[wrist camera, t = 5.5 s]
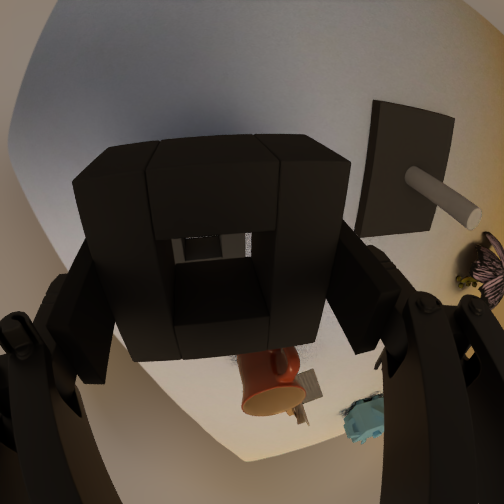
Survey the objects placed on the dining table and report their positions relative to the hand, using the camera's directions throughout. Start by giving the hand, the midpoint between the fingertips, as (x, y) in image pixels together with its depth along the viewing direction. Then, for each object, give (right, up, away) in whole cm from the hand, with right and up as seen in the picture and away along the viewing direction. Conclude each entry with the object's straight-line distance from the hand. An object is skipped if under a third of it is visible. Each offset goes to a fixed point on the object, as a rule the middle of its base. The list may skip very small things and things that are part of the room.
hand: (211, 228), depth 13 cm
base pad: (+20, +9, +18) cm, 28 cm away
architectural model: (+10, -30, +43) cm, 53 cm away
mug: (+3, -14, +30) cm, 33 cm away
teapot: (+33, -44, +58) cm, 80 cm away
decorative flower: (+44, -3, +31) cm, 54 cm away
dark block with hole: (0, 0, 0) cm, 0 cm away
